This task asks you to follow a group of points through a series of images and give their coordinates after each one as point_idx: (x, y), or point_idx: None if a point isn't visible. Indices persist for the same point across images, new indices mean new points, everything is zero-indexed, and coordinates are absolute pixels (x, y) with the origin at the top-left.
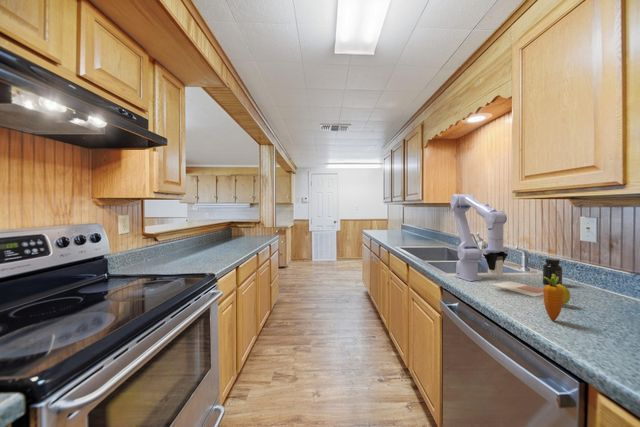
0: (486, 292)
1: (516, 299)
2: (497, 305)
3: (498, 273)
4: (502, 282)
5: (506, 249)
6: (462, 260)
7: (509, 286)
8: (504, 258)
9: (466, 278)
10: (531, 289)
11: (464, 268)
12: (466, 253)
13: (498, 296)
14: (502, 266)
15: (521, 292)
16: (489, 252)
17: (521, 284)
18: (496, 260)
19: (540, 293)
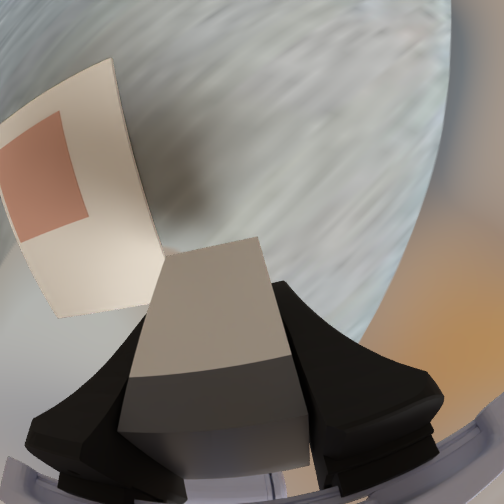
0: (327, 184)
1: (262, 37)
2: (421, 32)
3: (229, 249)
4: (101, 311)
5: (24, 500)
6: None
7: (107, 246)
8: (91, 394)
9: None
10: (38, 175)
11: None
12: (272, 496)
13: (321, 105)
14: (154, 306)
15: (124, 126)
16: (413, 474)
17: (35, 264)
18: (292, 358)
19: (45, 107)
